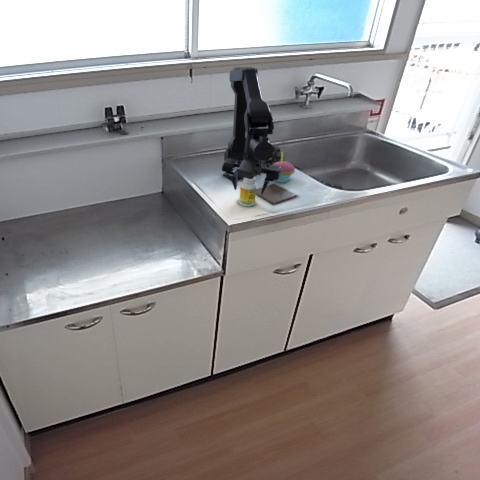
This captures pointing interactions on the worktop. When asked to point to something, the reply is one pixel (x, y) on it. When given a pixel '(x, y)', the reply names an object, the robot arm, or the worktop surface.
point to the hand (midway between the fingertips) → (248, 191)
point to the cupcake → (285, 169)
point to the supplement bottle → (248, 192)
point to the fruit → (273, 157)
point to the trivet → (275, 194)
